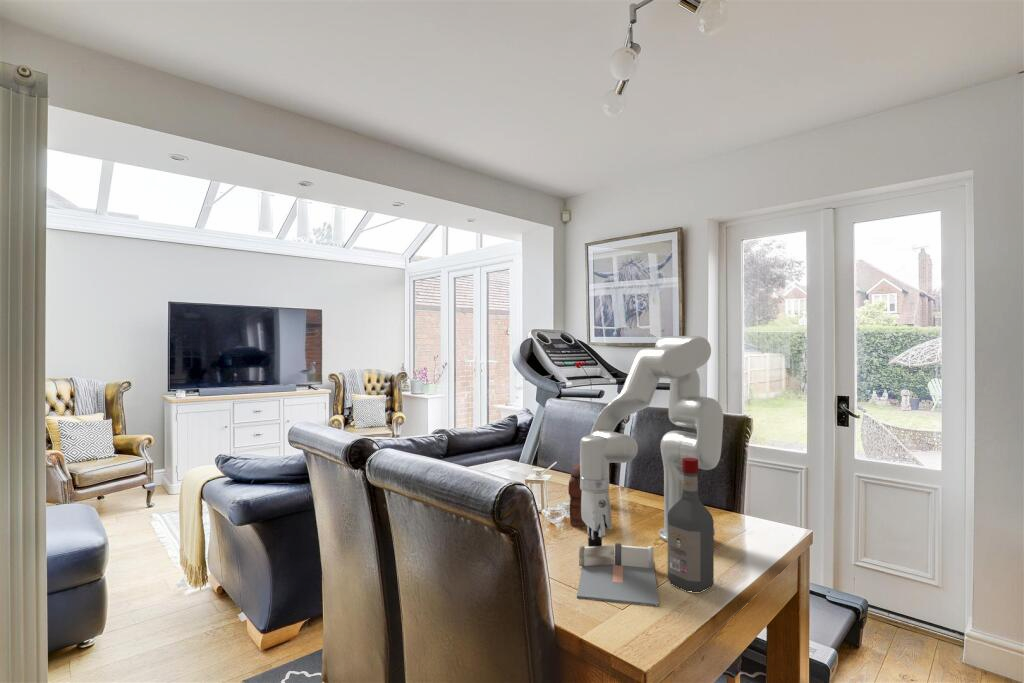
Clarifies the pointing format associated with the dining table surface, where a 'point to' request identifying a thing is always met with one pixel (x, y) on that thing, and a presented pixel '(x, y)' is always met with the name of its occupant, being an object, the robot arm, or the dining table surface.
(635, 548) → the board
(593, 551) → the hinged panel
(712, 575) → the liquor
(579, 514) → the wooden figurine
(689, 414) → the robot arm
